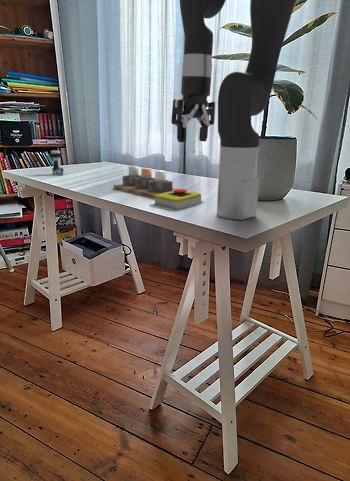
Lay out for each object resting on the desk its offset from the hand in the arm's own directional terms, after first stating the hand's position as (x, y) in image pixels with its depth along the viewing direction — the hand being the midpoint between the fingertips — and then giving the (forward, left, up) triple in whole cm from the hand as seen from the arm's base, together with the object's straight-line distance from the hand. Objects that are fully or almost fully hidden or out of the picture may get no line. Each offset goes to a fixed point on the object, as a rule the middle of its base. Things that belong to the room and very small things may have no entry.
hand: (192, 141), depth 92 cm
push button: (+75, +3, -18) cm, 78 cm away
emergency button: (+3, +2, -18) cm, 19 cm away
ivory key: (+16, -3, -14) cm, 22 cm away
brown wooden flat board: (+23, -3, -18) cm, 29 cm away
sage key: (+31, -3, -14) cm, 34 cm away
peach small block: (+23, -3, -14) cm, 27 cm away
